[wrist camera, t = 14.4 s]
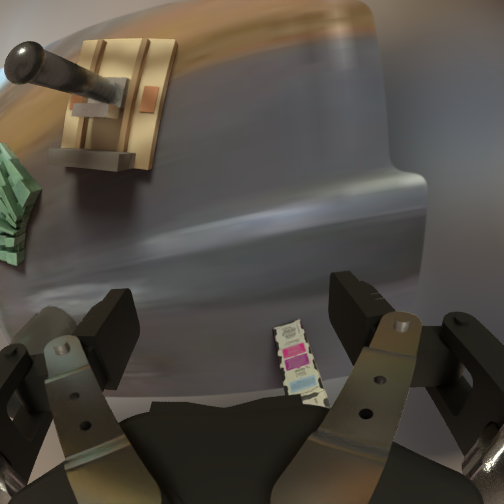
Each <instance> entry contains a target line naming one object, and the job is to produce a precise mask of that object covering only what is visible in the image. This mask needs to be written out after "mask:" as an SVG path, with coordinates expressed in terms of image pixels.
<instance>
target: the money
mask: <svg viewBox="0 0 504 504" xmlns="http://www.w3.org/2000/svg"><path fill="white" fill-rule="evenodd" d="M41 190H42V188H41V187H40V186H39V185H38V184H37V183H36V181H35V180H34V179H33V178H32V176H31V175H30V174H29V173H28V172H27V170H26V169H25V168H24V167H23V166H22V165H21V163H20V162H19V160H18V158H17V157H16V155H15V154H14V153H13V152H12V150H10V149H9V148H8V146H7V145H6V143H1V142H0V260H3V261H6V262H7V263H9V264H12V265H15V266H17V265H18V264H20V263H21V262H23V261H24V260H25V255H24V254H25V248H24V242H25V235H26V232H25V230H26V227H27V222H28V220H29V217H30V213H31V211H32V209H33V206H34V203H35V201H36V199H37V197H38V195H39V194H40V192H41Z"/></svg>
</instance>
